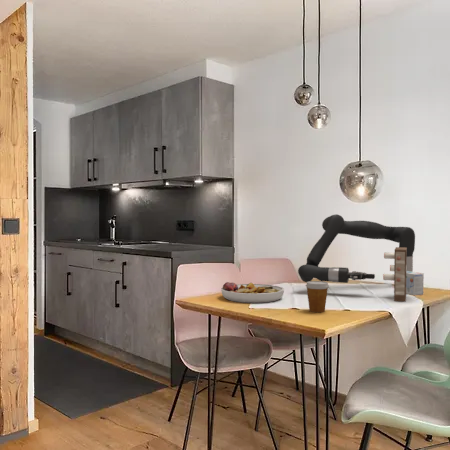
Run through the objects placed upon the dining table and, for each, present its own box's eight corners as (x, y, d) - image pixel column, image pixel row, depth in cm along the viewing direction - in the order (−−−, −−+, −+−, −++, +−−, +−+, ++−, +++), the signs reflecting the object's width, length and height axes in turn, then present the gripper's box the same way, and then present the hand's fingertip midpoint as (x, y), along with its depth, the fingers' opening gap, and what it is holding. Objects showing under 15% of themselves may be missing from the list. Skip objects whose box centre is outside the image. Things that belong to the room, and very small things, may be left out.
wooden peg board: (395, 295, 241) (395, 247, 240) (406, 296, 239) (406, 247, 238) (394, 301, 225) (394, 249, 224) (405, 302, 223) (406, 250, 223)
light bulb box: (398, 292, 251) (398, 271, 250) (407, 291, 254) (407, 270, 253) (414, 295, 241) (414, 273, 241) (423, 294, 244) (424, 273, 244)
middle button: (390, 270, 230) (390, 264, 230) (406, 271, 228) (406, 265, 228) (389, 271, 228) (389, 265, 227) (406, 272, 225) (406, 265, 225)
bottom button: (383, 279, 236) (383, 273, 236) (399, 280, 234) (399, 274, 234) (383, 280, 233) (383, 274, 233) (399, 281, 231) (399, 274, 231)
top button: (384, 258, 241) (384, 252, 241) (400, 258, 238) (400, 252, 238) (384, 258, 238) (384, 252, 238) (399, 259, 235) (399, 253, 235)
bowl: (280, 293, 248) (280, 278, 248) (286, 304, 218) (287, 287, 218) (222, 293, 249) (222, 278, 249) (220, 304, 219) (220, 287, 219)
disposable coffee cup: (312, 307, 210) (312, 280, 209) (332, 310, 204) (332, 282, 203) (301, 311, 202) (301, 282, 202) (321, 314, 196) (321, 284, 196)
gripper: (336, 268, 237) (373, 270, 230) (340, 266, 249) (375, 267, 242) (336, 284, 237) (373, 286, 230) (340, 280, 249) (375, 282, 243)
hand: (374, 276), depth 236 cm, fingers closed
